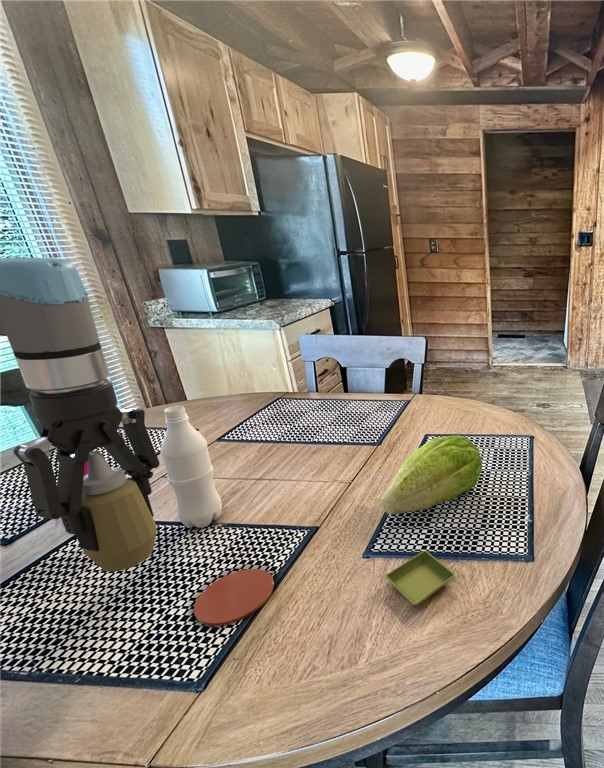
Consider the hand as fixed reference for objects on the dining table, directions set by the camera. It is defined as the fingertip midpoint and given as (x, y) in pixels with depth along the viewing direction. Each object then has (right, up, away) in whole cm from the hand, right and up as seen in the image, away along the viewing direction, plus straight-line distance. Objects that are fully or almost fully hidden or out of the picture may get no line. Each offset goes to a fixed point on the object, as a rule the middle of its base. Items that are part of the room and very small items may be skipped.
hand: (119, 531), depth 61 cm
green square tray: (+42, -13, +11) cm, 45 cm away
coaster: (+12, -13, +7) cm, 20 cm away
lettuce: (+40, -5, +34) cm, 52 cm away
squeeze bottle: (0, -5, +2) cm, 5 cm away
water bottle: (-6, -7, +25) cm, 26 cm away
